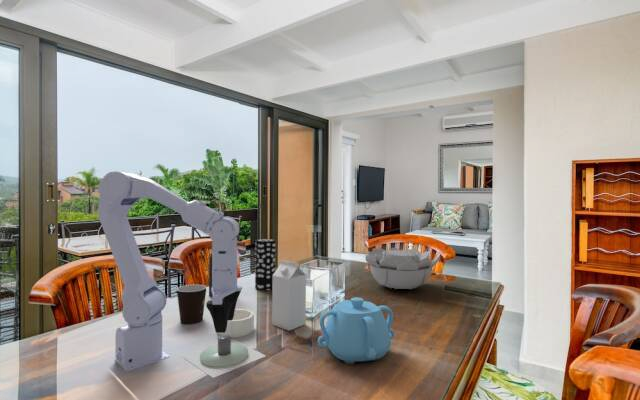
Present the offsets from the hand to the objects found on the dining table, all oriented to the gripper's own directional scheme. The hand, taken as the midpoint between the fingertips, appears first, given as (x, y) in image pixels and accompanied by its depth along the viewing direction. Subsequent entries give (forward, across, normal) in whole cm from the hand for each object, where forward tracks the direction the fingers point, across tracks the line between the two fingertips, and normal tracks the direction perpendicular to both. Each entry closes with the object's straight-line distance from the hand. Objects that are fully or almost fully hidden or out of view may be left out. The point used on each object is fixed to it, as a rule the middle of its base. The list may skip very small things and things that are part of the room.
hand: (224, 325), depth 83 cm
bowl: (+8, +16, +1) cm, 18 cm away
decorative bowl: (+8, +64, -58) cm, 86 cm away
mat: (+8, 0, 0) cm, 8 cm away
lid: (+7, 0, 0) cm, 7 cm away
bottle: (+8, +53, +15) cm, 56 cm away
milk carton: (+8, +21, -14) cm, 27 cm away
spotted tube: (+8, +63, -2) cm, 63 cm away
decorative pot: (+8, +2, -32) cm, 33 cm away
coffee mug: (+8, +27, +16) cm, 32 cm away
